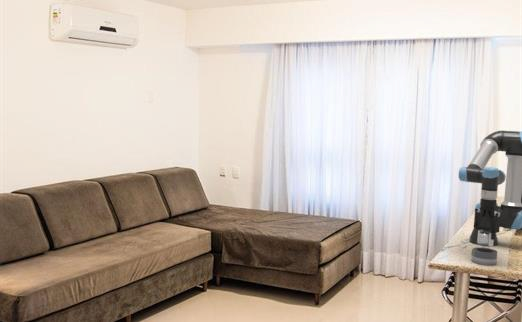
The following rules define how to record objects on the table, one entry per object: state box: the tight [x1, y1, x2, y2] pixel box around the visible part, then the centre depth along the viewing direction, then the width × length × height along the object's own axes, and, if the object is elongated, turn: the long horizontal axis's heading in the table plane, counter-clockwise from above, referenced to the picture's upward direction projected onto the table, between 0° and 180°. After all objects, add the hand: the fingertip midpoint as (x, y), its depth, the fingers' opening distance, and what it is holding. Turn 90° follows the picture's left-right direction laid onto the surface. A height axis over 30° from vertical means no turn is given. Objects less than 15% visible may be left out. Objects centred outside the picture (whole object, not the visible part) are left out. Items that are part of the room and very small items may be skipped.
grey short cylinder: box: [470, 246, 498, 267], centre depth 292 cm, size 12×12×6 cm
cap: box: [478, 231, 491, 248], centre depth 291 cm, size 6×6×6 cm
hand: (485, 244), depth 291 cm, fingers closed on cap, 6 cm apart
